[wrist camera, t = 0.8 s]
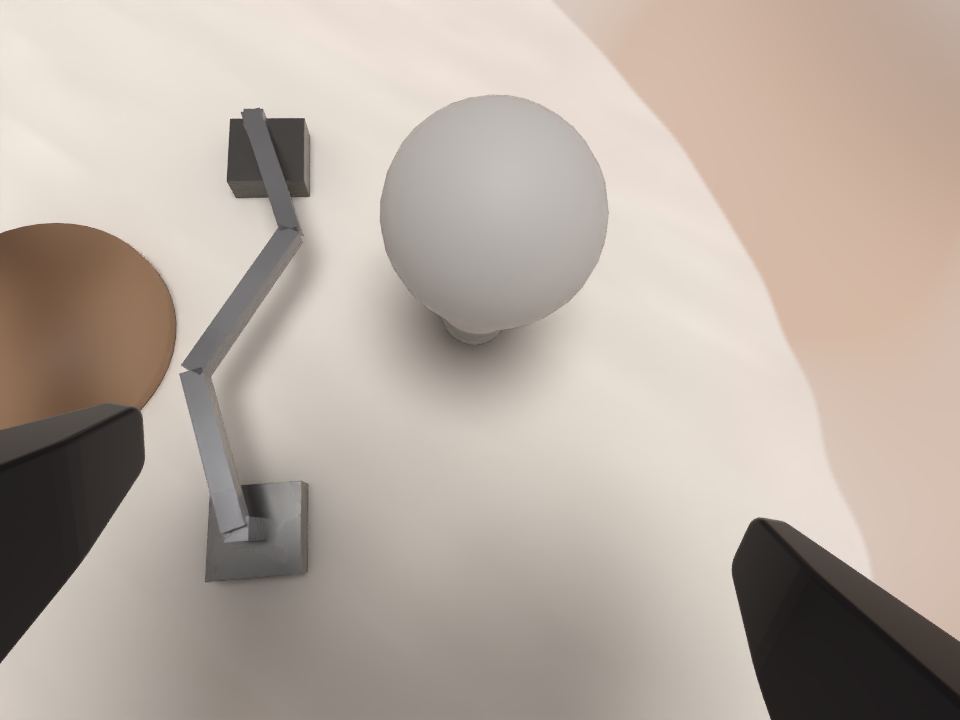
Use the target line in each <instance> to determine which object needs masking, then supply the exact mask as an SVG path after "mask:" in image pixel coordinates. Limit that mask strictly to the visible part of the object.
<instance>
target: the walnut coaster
mask: <svg viewBox="0 0 960 720" xmlns="http://www.w3.org/2000/svg"><path fill="white" fill-rule="evenodd" d="M175 338H176V318H175V310H174V306H173V302H172V299H171V295H170V293H169V291H168V289H167V287H166V284H165V283H164V281H163V280H162V278H161V277H160V275H159V274H158V272H157V271H156V270H155V269H154V268H153V267H152V266H151V264H150V263H149V262H148V261H147V260H146V259H145V258H144V257H143V256H142V255H141V254H139V253H138V252H137V251H136V250H135V249H133V248H132V247H131V246H130V245H129V244H127V243H125V242H124V241H122V240H121V239H119V238H117V237H115V236H113V235H111V234H109V233H106V232H104V231H101V230H98V229H95V228H91V227H88V226H82V225H76V224H64V223H49V224H37V225H31V226H25V227H20V228H17V229H13V230H9V231H6V232H3V233H0V430H1V429H5V428H9V427H13V426H17V425H21V424H25V423H29V422H33V421H37V420H40V419H44V418H48V417H52V416H56V415H60V414H64V413H68V412H72V411H76V410H80V409H83V408H87V407H91V406H95V405H99V404H103V403H117V404H122V405H128V406H133V407H136V408H137V409H139V410H140V409H142V407H143V406H144V405H145V404H146V402H147V401H148V400H149V399H150V398H151V396H152V395H153V394H154V392H155V390H156V389H157V387H158V386H159V384H160V383H161V381H162V379H163V377H164V375H165V373H166V370H167V368H168V366H169V363H170V360H171V357H172V354H173V349H174V344H175Z"/></svg>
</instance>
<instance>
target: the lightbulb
mask: <svg viewBox="0 0 960 720" xmlns="http://www.w3.org/2000/svg"><path fill="white" fill-rule="evenodd" d="M608 213H609V212H608V202H607V193H606V184H605V180H604V177H603V174H602V171H601V168H600V166H599V163H598V162H597V160H596V158H595V157H594V155H593V153H592V151H591V150H590V148H589V146H588V145H587V143H586V141H585V140H584V139H583V138H582V136H581V135H580V134H579V133H578V132H577V131H576V129H575V128H574V127H573V126H572V125H570V124H569V123H568V122H567V121H565V120H564V119H563V118H562V117H561V116H559V115H558V114H556V113H554V112H553V111H551V110H549V109H547V108H546V107H544V106H542V105H540V104H538V103H535V102H532V101H530V100H527V99H524V98H519V97H514V96H508V95H487V96H479V97H471V98H467V99H464V100H461V101H458V102H454V103H452V104H450V105H448V106H446V107H444V108H442V109H440V110H438V111H436V112H435V113H434V114H432V115H431V116H429V117H428V118H427V119H425V120H424V121H423V122H422V123H420V124H419V125H418V126H417V127H416V128H414V129H413V130H412V132H411V133H410V134H409V135H408V137H407V138H406V139H405V140H404V141H403V143H402V144H401V146H400V148H399V150H398V151H397V153H396V155H395V157H394V159H393V161H392V163H391V165H390V167H389V169H388V171H387V175H386V179H385V183H384V187H383V192H382V196H381V201H380V224H381V230H382V235H383V240H384V245H385V249H386V253H387V255H388V257H389V259H390V262H391V264H392V266H393V268H394V270H395V272H396V273H397V274H398V276H399V277H400V279H401V280H402V281H403V283H404V284H405V285H406V287H407V288H408V290H409V291H410V292H411V294H412V295H413V296H414V297H415V298H417V299H418V300H419V301H420V302H421V303H422V304H423V305H424V306H425V307H426V308H428V309H429V310H431V311H433V312H434V313H436V314H438V315H439V316H441V317H442V318H443V323H444V325H445V327H446V329H447V331H448V332H449V333H450V334H451V335H452V336H453V337H454V338H455V339H457V340H459V341H461V342H463V343H466V344H472V345H473V344H483V343H486V342H489V341H491V340H492V339H494V338H495V337H496V336H497V335H498V334H499V333H500V331H501V330H506V329H511V328H516V327H521V326H525V325H528V324H530V323H533V322H535V321H538V320H540V319H543V318H544V317H546V316H548V315H549V314H551V313H553V312H554V311H556V310H557V309H559V308H560V307H562V306H563V305H565V304H566V303H568V302H569V301H570V300H571V299H572V298H573V297H574V296H575V294H576V293H577V292H578V291H579V290H580V289H581V288H582V287H583V285H584V284H585V282H586V281H587V279H588V277H589V276H590V274H591V273H592V271H593V269H594V268H595V266H596V264H597V263H598V261H599V258H600V255H601V252H602V249H603V246H604V243H605V237H606V232H607V223H608Z"/></svg>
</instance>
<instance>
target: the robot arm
mask: <svg viewBox="0 0 960 720" xmlns="http://www.w3.org/2000/svg"><path fill="white" fill-rule="evenodd" d="M144 460H145V447H144V431H143V418H142V414H141V411H140V410H139V409H137V408H136V407H133V406H128V405H122V404H117V403H103V404H99V405H95V406H91V407H87V408H83V409H80V410H76V411H72V412H68V413H64V414H60V415H56V416H52V417H48V418H44V419H40V420H37V421H33V422H29V423H25V424H21V425H17V426H13V427H9V428H5V429H1V430H0V663H1V662H2V661H3V659H4V658H5V657H6V656H7V655H8V653H9V652H10V651H11V650H12V648H13V647H14V646H15V645H16V643H17V642H18V641H19V640H20V638H21V637H22V636H23V635H24V634H25V632H26V631H27V630H28V629H29V627H30V626H31V625H32V624H33V622H34V621H35V620H36V619H37V617H38V616H39V615H40V614H41V613H42V611H43V610H44V609H45V608H46V606H47V605H48V604H49V603H50V601H51V600H52V599H53V598H54V596H55V595H56V594H57V593H58V592H59V590H60V589H61V588H62V587H63V585H64V584H65V583H66V582H67V580H68V579H69V578H70V577H71V575H72V574H73V573H74V571H75V570H76V569H77V568H78V566H79V565H80V564H81V562H82V561H83V559H84V558H85V557H86V555H87V554H88V552H89V551H90V549H91V548H92V546H93V545H94V543H95V542H96V540H97V539H98V537H99V536H100V534H101V533H102V531H103V530H104V528H105V526H106V525H107V523H108V522H109V520H110V519H111V517H112V516H113V514H114V513H115V511H116V510H117V508H118V507H119V505H120V503H121V502H122V500H123V499H124V497H125V496H126V494H127V493H128V491H129V490H130V488H131V487H132V485H133V484H134V482H135V481H136V479H137V477H138V476H139V474H140V472H141V470H142V468H143V465H144ZM732 577H733V582H734V586H735V590H736V594H737V599H738V603H739V607H740V611H741V615H742V620H743V624H744V628H745V632H746V637H747V641H748V645H749V649H750V653H751V658H752V662H753V665H754V669H755V673H756V676H757V679H758V683H759V686H760V689H761V692H762V695H763V698H764V701H765V704H766V707H767V710H768V713H769V715H770V718H771V720H960V642H959V641H958V640H957V639H955V638H954V637H952V636H951V635H949V634H948V633H946V632H945V631H943V630H942V629H941V628H939V627H938V626H936V625H935V624H933V623H932V622H930V621H929V620H927V619H926V618H925V617H923V616H922V615H920V614H919V613H917V612H916V611H914V610H913V609H911V608H910V607H908V606H907V605H905V604H904V603H902V602H901V601H900V600H898V599H897V598H895V597H894V596H892V595H891V594H889V593H888V592H887V591H885V590H883V589H882V588H881V587H879V586H878V585H876V584H875V583H873V582H872V581H871V580H869V579H868V578H866V577H865V576H863V575H862V574H860V573H859V572H857V571H856V570H854V569H853V568H852V567H850V566H849V565H847V564H846V563H844V562H843V561H841V560H840V559H838V558H837V557H836V556H834V555H833V554H831V553H830V552H828V551H827V550H825V549H824V548H822V547H821V546H819V545H818V544H817V543H815V542H814V541H812V540H811V539H809V538H808V537H806V536H805V535H803V534H802V533H801V532H799V531H798V530H796V529H795V528H793V527H792V526H790V525H789V524H787V523H785V522H783V521H779V520H773V519H767V518H761V517H758V518H756V519H754V520H753V521H752V522H751V523H750V524H749V526H748V528H747V530H746V533H745V535H744V537H743V539H742V541H741V543H740V546H739V548H738V550H737V552H736V554H735V556H734V559H733V563H732Z"/></svg>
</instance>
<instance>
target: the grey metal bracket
mask: <svg viewBox="0 0 960 720" xmlns="http://www.w3.org/2000/svg"><path fill="white" fill-rule="evenodd" d="M241 114H242V117H243V119H230V132H229V150H228V169H227V183H228V184H229V186H230V188H231V190H232V191H233V193H234V195H235V197H236V198H265V197H269V200H270V203H271V206H272V209H273V212H274V215H275V218H276V221H277V224H278V227H279V228H278V229H277V230H276V232H275V233H274V235H273V236H272V237H271V239H270V240H269V242H268V243H267V245H266V246H265V247H264V249H263V250H262V252H261V253H260V254H259V256H258V257H257V259H256V260H255V261H254V263H253V264H252V266H251V267H250V269H249V270H248V271H247V273H246V274H245V276H244V277H243V278H242V280H241V281H240V283H239V284H238V285H237V287H236V288H235V290H234V291H233V293H232V294H231V295H230V297H229V298H228V300H227V301H226V302H225V304H224V305H223V307H222V308H221V310H220V311H219V312H218V314H217V315H216V317H215V318H214V319H213V321H212V322H211V324H210V325H209V326H208V328H207V329H206V331H205V332H204V334H203V335H202V336H201V338H200V339H199V341H198V342H197V343H196V345H195V346H194V348H193V349H192V350H191V352H190V353H189V355H188V356H187V358H186V359H185V360H184V362H183V363H182V365H181V366H183V367H184V368H185V369H187V370H188V371H187V372H183V373H180V374H179V375H180V378H181V382H182V386H183V390H184V394H185V398H186V402H187V406H188V409H189V413H190V417H191V421H192V425H193V429H194V433H195V436H196V440H197V444H198V448H199V452H200V456H201V460H202V464H203V467H204V471H205V475H206V479H207V483H208V487H209V491H210V502H209V520H208V539H207V557H206V575H205V582H212V581H223V580H234V579H245V578H257V577H268V576H279V575H290V574H301V573H304V572H307V571H308V484H307V483H304V482H302V481H295V482H281V483H268V484H254V485H240V482H239V478H238V474H237V471H236V467H235V463H234V460H233V456H232V452H231V449H230V445H229V441H228V438H227V434H226V430H225V427H224V423H223V419H222V416H221V412H220V408H219V405H218V401H217V397H216V394H215V390H214V386H213V383H212V379H211V376H212V374H213V373H214V371H215V370H216V369H217V367H218V366H219V364H220V363H221V361H222V360H223V358H224V357H225V355H226V354H227V352H228V351H229V350H230V348H231V347H232V345H233V344H234V342H235V341H236V339H237V338H238V336H239V335H240V333H241V332H242V331H243V329H244V328H245V326H246V325H247V323H248V322H249V320H250V319H251V317H252V316H253V314H254V313H255V312H256V310H257V309H258V307H259V306H260V304H261V303H262V301H263V300H264V298H265V297H266V295H267V294H268V293H269V291H270V290H271V288H272V287H273V285H274V284H275V282H276V281H277V279H278V278H279V276H280V275H281V274H282V272H283V271H284V269H285V268H286V266H287V265H288V263H289V262H290V260H291V259H292V257H293V256H294V255H295V253H296V252H297V250H298V249H299V247H300V246H301V244H302V243H303V242H302V239H301V237H300V236H304V235H303V232H302V229H301V226H300V223H299V220H298V217H297V214H296V211H295V208H294V205H293V202H292V199H291V197H310V135H309V132H308V128H307V125H306V122H305V118H270V119H267V118H266V116H265V113H264V110H263V109H260V108H256V109H244V112H241Z"/></svg>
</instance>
